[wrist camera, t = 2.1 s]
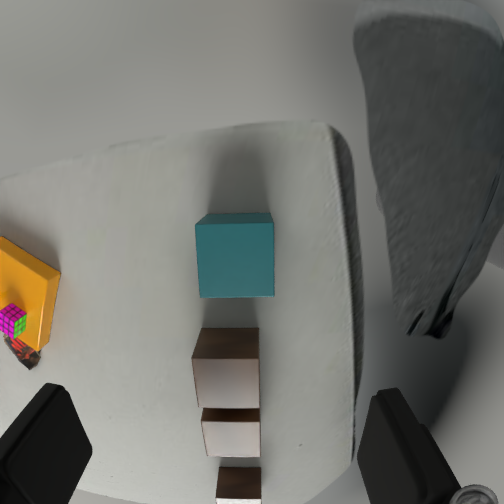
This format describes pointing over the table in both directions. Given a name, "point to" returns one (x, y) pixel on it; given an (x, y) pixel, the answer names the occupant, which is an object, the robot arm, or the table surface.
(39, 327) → the wide flat orange box
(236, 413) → the line block
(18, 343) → the red black flat square
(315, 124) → the table surface
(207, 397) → the line block
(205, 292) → the teal block
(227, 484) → the line block
